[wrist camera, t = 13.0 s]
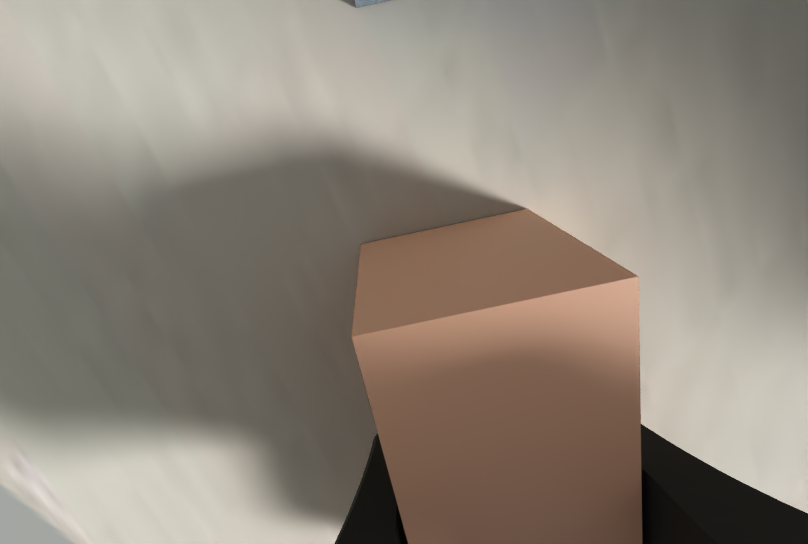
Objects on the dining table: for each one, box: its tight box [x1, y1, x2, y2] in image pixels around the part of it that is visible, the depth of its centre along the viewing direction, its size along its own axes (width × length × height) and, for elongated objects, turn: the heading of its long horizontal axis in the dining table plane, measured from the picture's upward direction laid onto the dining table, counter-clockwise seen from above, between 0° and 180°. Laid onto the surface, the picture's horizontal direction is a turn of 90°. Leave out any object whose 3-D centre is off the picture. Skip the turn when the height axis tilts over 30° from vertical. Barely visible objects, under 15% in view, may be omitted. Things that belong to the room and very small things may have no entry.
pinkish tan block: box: [351, 209, 642, 544], centre depth 10 cm, size 4×10×5 cm, turn 11°
